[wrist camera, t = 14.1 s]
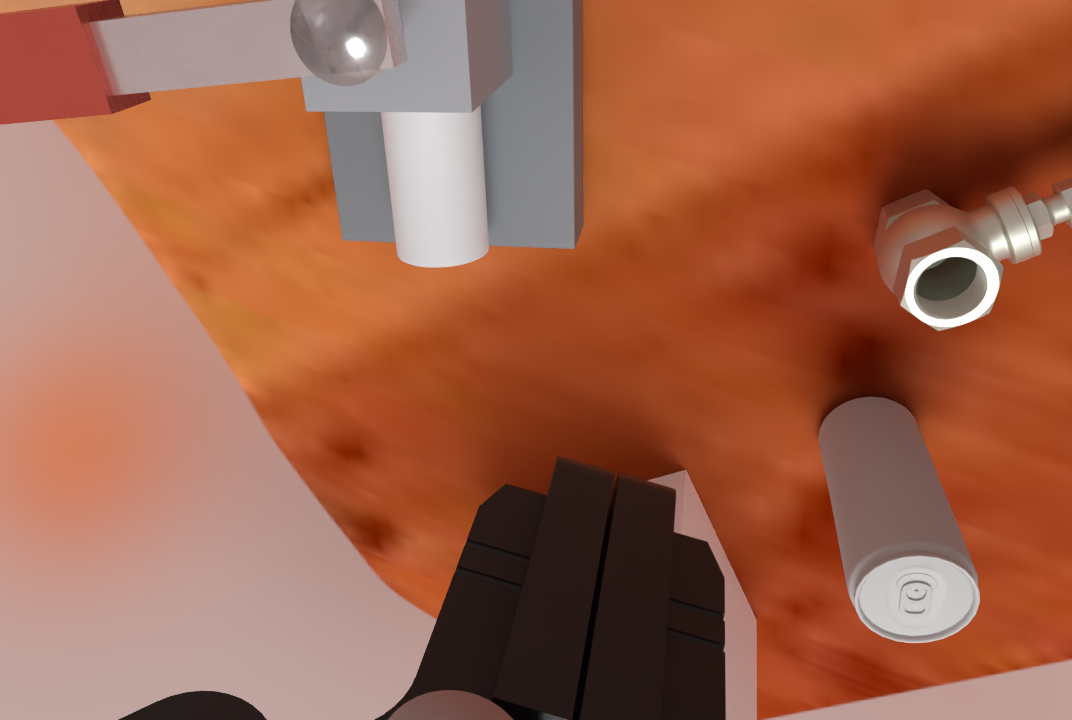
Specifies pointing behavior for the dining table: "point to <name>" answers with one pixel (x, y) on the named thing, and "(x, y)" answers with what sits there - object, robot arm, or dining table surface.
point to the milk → (737, 608)
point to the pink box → (184, 51)
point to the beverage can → (895, 524)
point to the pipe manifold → (464, 133)
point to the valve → (961, 249)
